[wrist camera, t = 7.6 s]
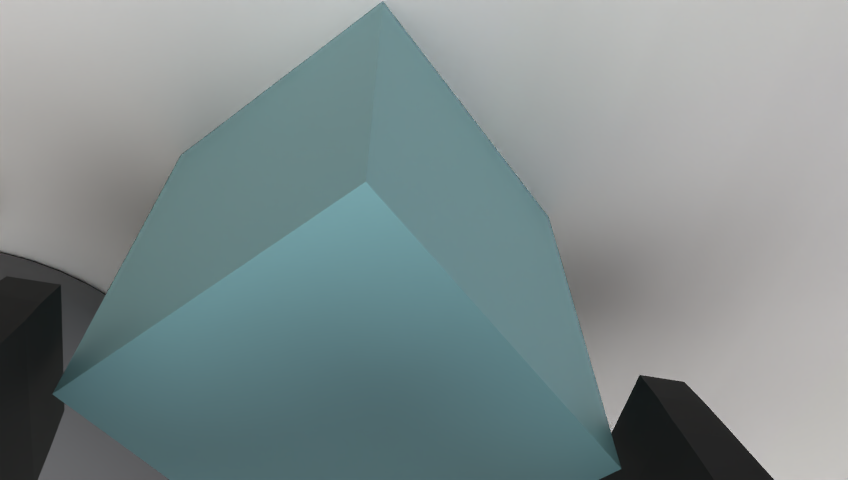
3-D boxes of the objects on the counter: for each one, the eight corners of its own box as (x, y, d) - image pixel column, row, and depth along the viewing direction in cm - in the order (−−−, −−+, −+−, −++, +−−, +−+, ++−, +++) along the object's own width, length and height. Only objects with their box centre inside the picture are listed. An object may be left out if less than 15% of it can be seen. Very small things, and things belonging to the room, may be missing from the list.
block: (548, 216, 15) (621, 468, 10) (360, 330, 16) (338, 602, 11) (382, 0, 13) (365, 181, 7) (181, 154, 14) (52, 394, 9)
